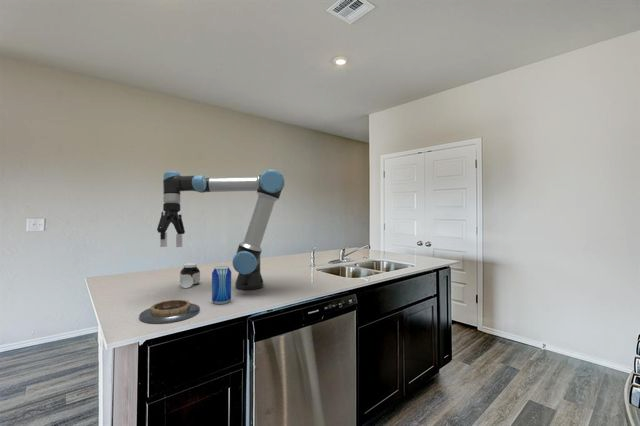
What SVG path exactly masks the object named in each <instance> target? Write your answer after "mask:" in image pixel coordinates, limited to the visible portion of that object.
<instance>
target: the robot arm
mask: <svg viewBox="0 0 640 426" xmlns="http://www.w3.org/2000/svg"><path fill="white" fill-rule="evenodd" d="M162 183H163V187H162V189H163V193H162V194H163V198H162V199H163V207H162V209H163V210H162V211H161V214H160V219H159V222H158V225H157V229H156V231H157V233H158V234H159V233H160V234H159V235H160V237H159V238H160V242H159V243H160V245H159V246H160V248H167V247H168V232H167V230H168V229H169V226H170V224H172V225H173V227H174V229H175V231H176V237H175V239H176V240H175V242H176V243H175V244H176V248H183V235H185V233H186V231H185V227H184V223H183V218H182V217H183V216H182V214H181V213H180V214H178V213H179V212H180V211H181V192H197V193H203V194H204V193H214V192H215V193H219V192H256V194H257V196H258V197H257V200H256V203H255V206H254V209H253V213H252V215H251V218H250V221H249V223H248V224H249V225H248V227H247V229H246V232H245V236H244V238H243V241H241V242H240V243H239V245H238V246H237V250H236V254H235V255H234V256H233V259H232V267H233V269H234V271H236V272H237V273H238V274H237V277H236V279H235V280H236V281H235V283H234V284H235V285H234V287H235V289H237V290H240V291H241V290H243V291H252V290H259V289H261V288H262V289H263V287H264V279H263V276H262V274H261V273H262V272H261V254H262V251H263V250H262V247H261V244H262V241H263V238H264V236H265V233H266V229H267V227H268V224H269V220H270V217H271V214H272V211H273V208H274V206H275V202H277V201H279V199H280V197H281V193H282V191H283V189H284V187H285V178H284V175H283V173H281V172H280V171H279V170H277V169H273V168H272V169H271V168H270V169H267V170H265V171H264V172H263V173H261V174H259V175H257V176H253V177H252V176H249V177H247V176H246V177H243V176H241V177H240V176H239V177H207V178H206V177H205V176H204V175H198V174H197V175H181V173H180V172H178V171H170V170H169V171H165V172H164V174H163V180H162Z"/></svg>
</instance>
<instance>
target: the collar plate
mask: <svg viewBox="0 0 640 426" xmlns="http://www.w3.org/2000/svg"><path fill="white" fill-rule="evenodd" d="M200 310H201V307H200V306H199V305H198V304H196V303H191V302H190V301H189V300H184V299H171V300H170V299H169V300H164V301H159V302H156V303H154V304H153V305H151V306H150V308H146V309H144V310H143V311H142V312H141V313H139V315H138V316H139V317H138V319H139V321H140V322H142V323H146V324H150V325H151V324H153V325H159V324H160V325H164V324H173V323H178V322H182V321H185V320H188V319H191V318H194V317H196V316H197V315H198V314H199V313H200Z"/></svg>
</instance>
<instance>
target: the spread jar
mask: <svg viewBox="0 0 640 426" xmlns="http://www.w3.org/2000/svg"><path fill="white" fill-rule="evenodd" d="M197 265H198V264H197V263H196V262H195V263H194V262H187V263H184V264H183V267H182V269H181V270H180V272H179V285H180V287H182V288H184V289H189V288H191V287H194V286H196V285H198V284H199V283H200V282H201V271H200V269H199V267H198V266H197Z"/></svg>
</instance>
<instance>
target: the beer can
mask: <svg viewBox="0 0 640 426" xmlns="http://www.w3.org/2000/svg"><path fill="white" fill-rule="evenodd" d="M231 299H232V271H231V269H230V266H227V265H220V266H215V267H214V268H213V271H212V272H211V301H212V303H213V304H214V305H224V304H229V302H230V301H232V300H231Z"/></svg>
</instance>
